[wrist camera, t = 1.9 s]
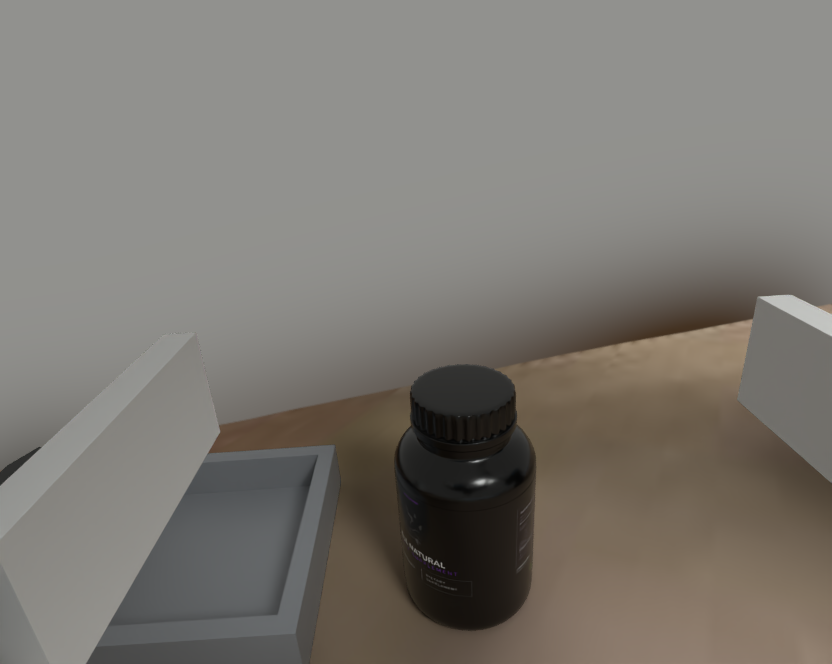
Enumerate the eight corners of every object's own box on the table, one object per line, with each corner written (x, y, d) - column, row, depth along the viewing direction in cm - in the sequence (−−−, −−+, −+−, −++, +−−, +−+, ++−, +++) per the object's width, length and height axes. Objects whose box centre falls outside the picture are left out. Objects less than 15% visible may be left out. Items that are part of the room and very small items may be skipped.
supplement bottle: (391, 626, 27) (365, 422, 22) (420, 527, 33) (404, 351, 28) (531, 648, 25) (535, 433, 20) (535, 539, 31) (538, 355, 26)
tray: (341, 481, 37) (335, 444, 36) (306, 680, 24) (295, 633, 23) (143, 495, 37) (130, 459, 36) (4, 700, 25) (-23, 654, 23)
